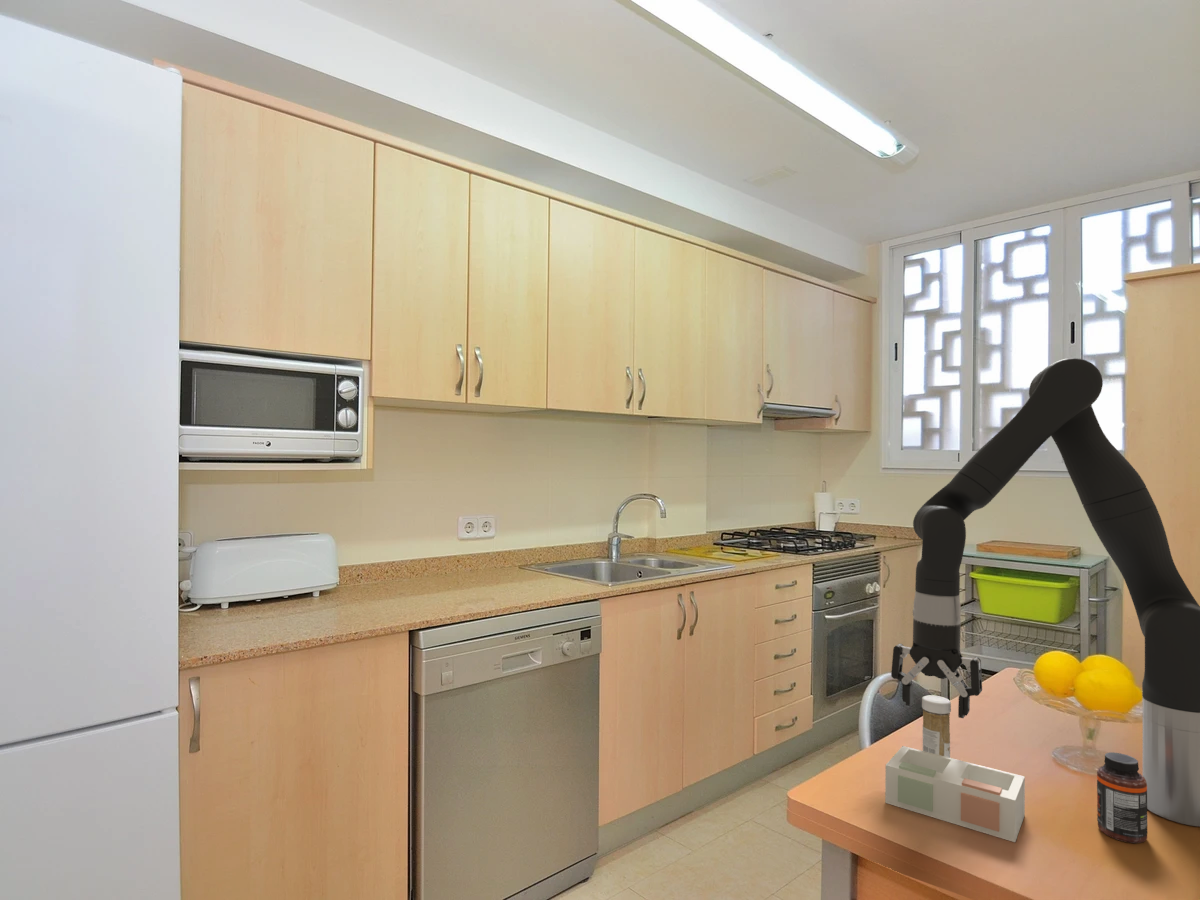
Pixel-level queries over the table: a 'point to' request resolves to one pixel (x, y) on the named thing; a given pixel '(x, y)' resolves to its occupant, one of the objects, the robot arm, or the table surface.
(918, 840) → the table surface
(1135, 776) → the supplement bottle
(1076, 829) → the table surface
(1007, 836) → the socket block
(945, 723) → the spice jar
